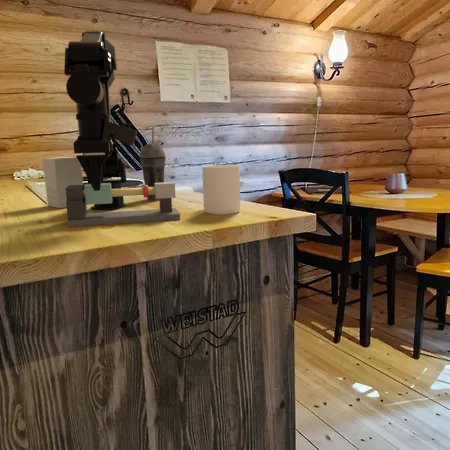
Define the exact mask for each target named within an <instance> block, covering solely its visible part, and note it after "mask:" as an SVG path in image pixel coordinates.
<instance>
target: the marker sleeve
mask: <svg viewBox="0 0 450 450" xmlns="http://www.w3.org/2000/svg"><path fill="white" fill-rule="evenodd" d="M84 190H85V198H86V206H87V205H94V204H108V203H112V197H111V183H101V185H100V190H99V191H94V189H93V187H92V186H91V184H88V183H86V184H84Z"/></svg>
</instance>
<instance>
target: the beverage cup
mask: <svg viewBox="0 0 450 450" xmlns="http://www.w3.org/2000/svg"><path fill="white" fill-rule="evenodd" d="M154 127H155V126H152V127H151V143H147V144H145V145H144V146H143V147H142V148H141V150H140V154H139V161H140V165H141V168H142V176H143V182H144V185H148V187H155V183H164V182H165V165H166V159H167V157H166V153H165V151H164V149H163V147H162V146H161V145H159V144H158V143H155V130H154V129H155V128H154ZM146 200H147V201H159V199H156V197H155V194H154V195H149V197H146Z"/></svg>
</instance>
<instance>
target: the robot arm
mask: <svg viewBox="0 0 450 450" xmlns="http://www.w3.org/2000/svg"><path fill="white" fill-rule="evenodd" d="M117 66H118V63H117V55H116V47H115V46H114V45H113V44H112V43H111V42H110V41H108V40H107V38H106V32H103V31H96V30H95V31H93V30H92V31H89V30H85V31H83V32H82V33H81V39H80V41H76V40H75V41H74V40H71V41H68V44H67V47H65V48H64V70H63V71H64V75H65V76H66V77H68V79H67V80H66V84H65V87H66V93H67V96H68V97H69V98H70V99H71V100H72V101H73V102H74V103H75V105H76V113H75V118H76V120H77V128H78V136H77V139H75V141H74V142H72V144H73V153H74V154H77V155H75V157H76V158H77V159H78V161H79V163H80V165H81V167H82V171H83V172H84V174H85V176H86V180H87V184H91V186H92V187H93V189H94V191H99V190H100V185H101V183H111V189H122V188H123V187H122V184H124V183H127V172H126V171H127V170H126V164H125V162H124V161H123V159H122V158H121V157H120V154H119V151H118V148H117V146H116V145H115V143H114V142H113V140H116V141H119V142H122V143H125V145H129V146H131V147H134V144H135V140H136V137H137V136H138V135H137V134H138V131H137V130H135V129H132V127H131V124H129V123H125V122H123V123H122V124H117V123H114V122H111V121H112V120H111V103H110V102H111V101H110V87H112V84H113V82H114V81H115V79H116V77H115V71H117V70H118V67H117ZM105 178H106V179H105ZM108 178H109V179H108ZM126 205H127V204H126V203H125V202H124V196H117V197H112V203H108V204H93V206H90V210H115V209H118V208H122V207H126Z"/></svg>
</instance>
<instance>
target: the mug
mask: <svg viewBox="0 0 450 450" xmlns="http://www.w3.org/2000/svg"><path fill="white" fill-rule="evenodd" d="M201 168H202V169H201V171H202V187H203V188H202V192H203V193H202V194H203V210H204V212H205V213H206V214H209V215H215V216H217V215H219V216H220V215H221V216H225V215H233V214H234V215H235V214H237V213H239V212H240V210H241V179H240V178H241V177H240V176H241V174H240V172H241V171H240V165H239V164H238V165H237V164H217V165H215V164H214V165H213V164H212V165H203V166H201Z"/></svg>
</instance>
